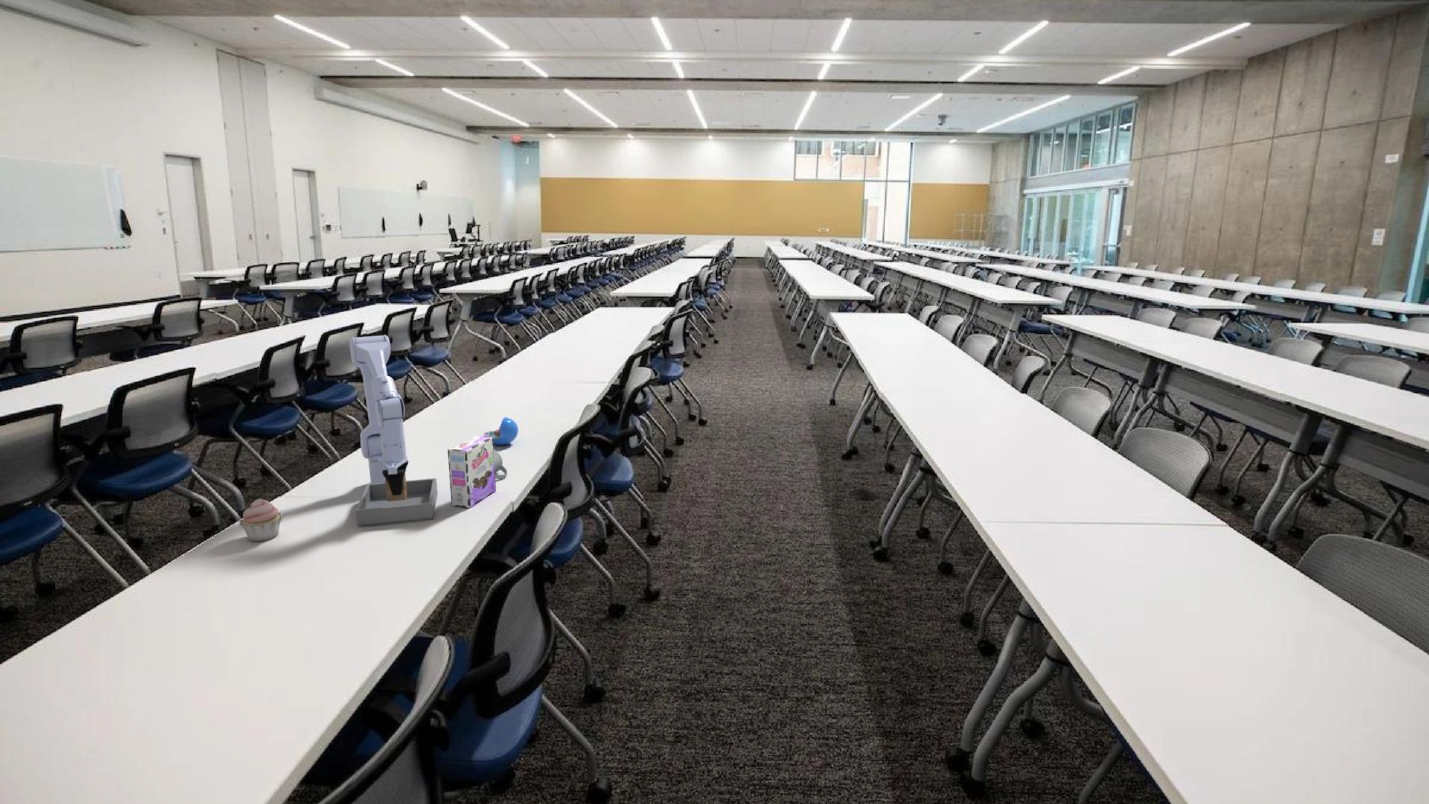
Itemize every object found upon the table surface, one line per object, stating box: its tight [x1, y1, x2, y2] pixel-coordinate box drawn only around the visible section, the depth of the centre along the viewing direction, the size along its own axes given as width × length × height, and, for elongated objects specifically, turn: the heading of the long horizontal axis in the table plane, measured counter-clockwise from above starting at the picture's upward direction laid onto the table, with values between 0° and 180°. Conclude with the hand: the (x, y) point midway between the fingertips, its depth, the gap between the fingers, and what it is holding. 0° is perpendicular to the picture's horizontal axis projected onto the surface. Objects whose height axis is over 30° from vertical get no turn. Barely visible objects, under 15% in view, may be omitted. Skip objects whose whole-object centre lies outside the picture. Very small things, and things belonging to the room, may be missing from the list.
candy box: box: [447, 435, 497, 509], centre depth 207 cm, size 14×6×16 cm, turn 165°
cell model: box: [483, 416, 519, 446], centre depth 257 cm, size 10×12×10 cm
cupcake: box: [238, 498, 284, 542], centre depth 182 cm, size 9×9×10 cm
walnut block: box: [385, 473, 407, 501], centre depth 199 cm, size 4×4×6 cm
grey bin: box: [355, 477, 438, 528], centre depth 200 cm, size 20×18×4 cm
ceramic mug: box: [493, 449, 508, 480], centre depth 225 cm, size 11×8×8 cm
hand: (398, 491), depth 199 cm, fingers closed on walnut block, 4 cm apart
